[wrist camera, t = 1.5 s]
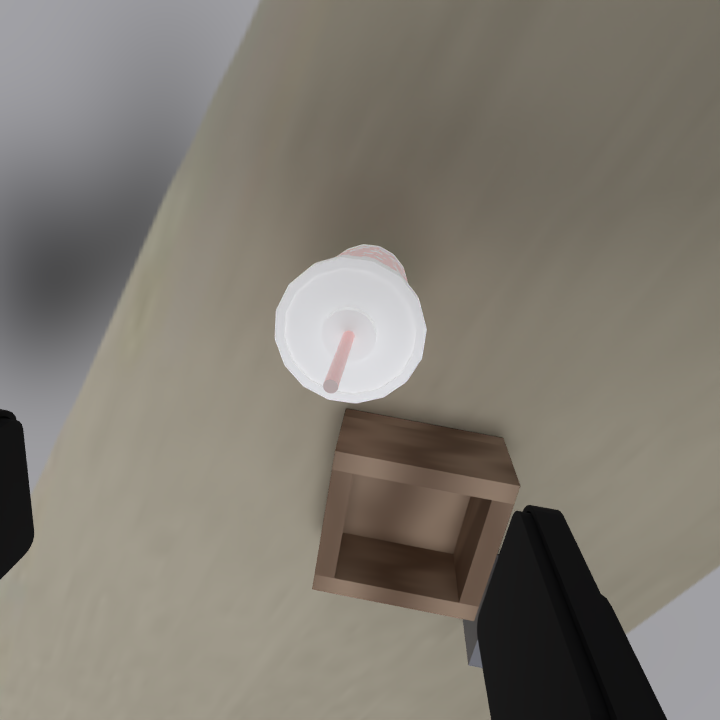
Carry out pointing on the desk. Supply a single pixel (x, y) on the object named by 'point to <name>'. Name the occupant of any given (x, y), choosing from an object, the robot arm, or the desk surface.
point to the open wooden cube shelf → (414, 514)
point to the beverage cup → (351, 326)
